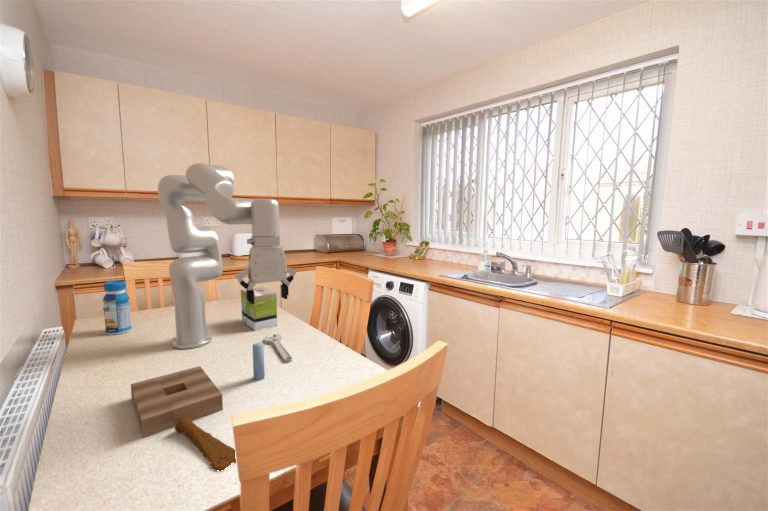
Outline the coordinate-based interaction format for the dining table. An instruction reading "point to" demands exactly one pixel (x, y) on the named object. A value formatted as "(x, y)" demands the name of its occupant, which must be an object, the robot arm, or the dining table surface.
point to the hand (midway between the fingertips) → (268, 300)
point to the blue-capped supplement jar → (116, 308)
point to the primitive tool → (207, 444)
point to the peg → (258, 361)
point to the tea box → (259, 309)
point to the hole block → (174, 399)
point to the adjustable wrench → (279, 347)
